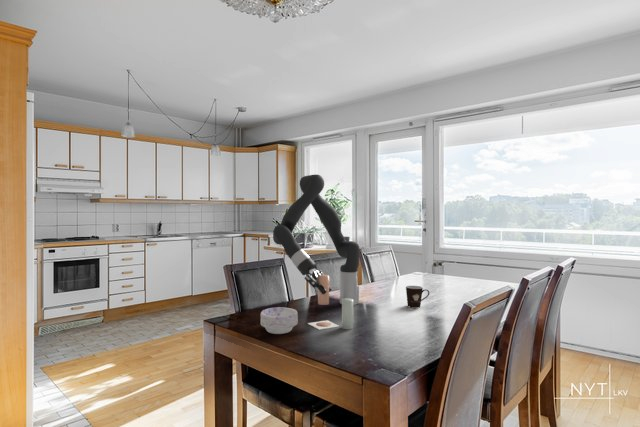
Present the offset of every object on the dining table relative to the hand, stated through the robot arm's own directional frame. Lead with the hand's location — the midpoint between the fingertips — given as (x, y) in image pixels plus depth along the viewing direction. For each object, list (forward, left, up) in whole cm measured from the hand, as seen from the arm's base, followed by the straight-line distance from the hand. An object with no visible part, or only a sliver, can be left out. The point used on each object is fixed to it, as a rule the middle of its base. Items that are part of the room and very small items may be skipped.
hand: (327, 291), depth 171 cm
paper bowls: (+21, -4, -15) cm, 26 cm away
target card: (+1, -2, -15) cm, 15 cm away
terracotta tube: (+1, -2, -5) cm, 5 cm away
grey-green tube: (-6, +6, -15) cm, 17 cm away
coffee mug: (-59, -8, -15) cm, 61 cm away
